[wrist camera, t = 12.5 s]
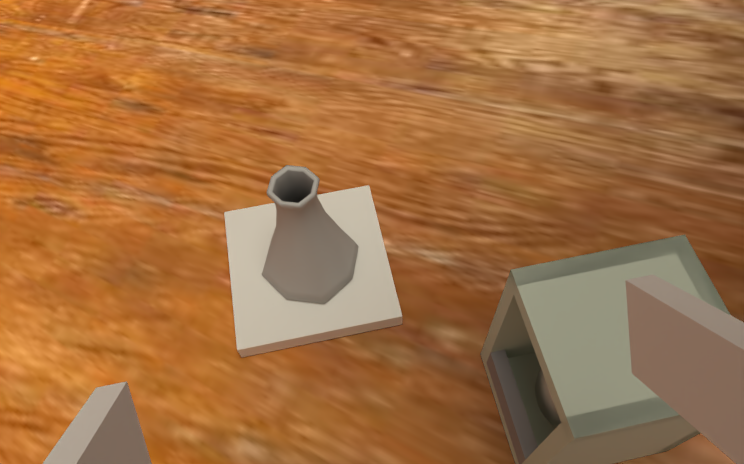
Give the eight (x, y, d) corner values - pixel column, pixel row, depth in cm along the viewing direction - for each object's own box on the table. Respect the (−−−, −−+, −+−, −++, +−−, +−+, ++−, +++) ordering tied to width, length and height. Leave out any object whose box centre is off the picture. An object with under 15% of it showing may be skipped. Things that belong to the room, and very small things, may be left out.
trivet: (369, 195, 51) (368, 185, 50) (402, 324, 45) (402, 316, 43) (228, 222, 50) (224, 212, 49) (241, 357, 44) (237, 350, 42)
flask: (246, 281, 45) (211, 207, 37) (294, 209, 48) (274, 126, 40) (329, 320, 43) (314, 252, 35) (374, 243, 47) (370, 163, 38)
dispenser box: (611, 326, 44) (684, 234, 33) (667, 450, 39) (775, 393, 28) (480, 354, 43) (510, 269, 32) (521, 484, 39) (574, 438, 27)
